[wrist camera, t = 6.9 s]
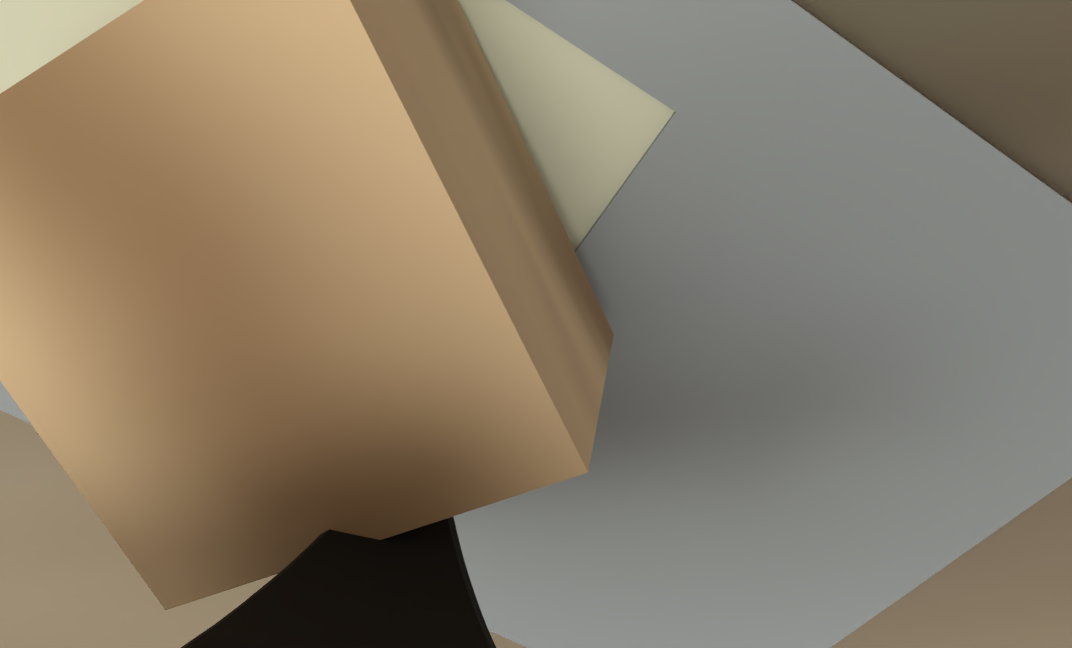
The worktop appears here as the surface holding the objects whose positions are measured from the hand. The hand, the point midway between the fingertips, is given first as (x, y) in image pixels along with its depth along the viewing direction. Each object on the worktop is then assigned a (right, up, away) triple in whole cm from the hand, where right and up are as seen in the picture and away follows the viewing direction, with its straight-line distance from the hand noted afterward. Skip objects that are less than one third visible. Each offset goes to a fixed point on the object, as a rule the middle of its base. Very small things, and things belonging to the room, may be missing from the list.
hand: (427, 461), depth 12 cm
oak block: (-1, +4, -1) cm, 4 cm away
